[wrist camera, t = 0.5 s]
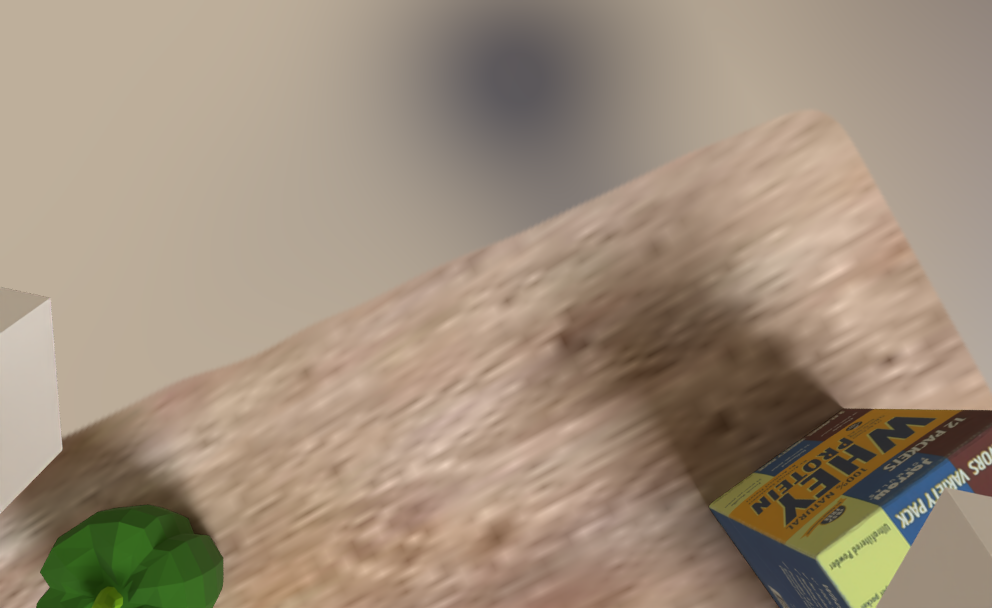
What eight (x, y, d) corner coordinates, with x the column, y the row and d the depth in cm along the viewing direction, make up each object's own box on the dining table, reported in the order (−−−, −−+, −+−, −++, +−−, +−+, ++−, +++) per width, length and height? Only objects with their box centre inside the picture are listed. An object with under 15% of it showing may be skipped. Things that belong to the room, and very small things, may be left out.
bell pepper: (69, 581, 45) (-51, 631, 35) (163, 468, 46) (72, 485, 36) (178, 675, 44) (87, 753, 34) (271, 558, 45) (209, 602, 35)
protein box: (842, 403, 47) (1015, 403, 31) (1004, 623, 45) (1270, 737, 30) (702, 504, 46) (809, 555, 30) (862, 732, 44) (1061, 908, 29)
